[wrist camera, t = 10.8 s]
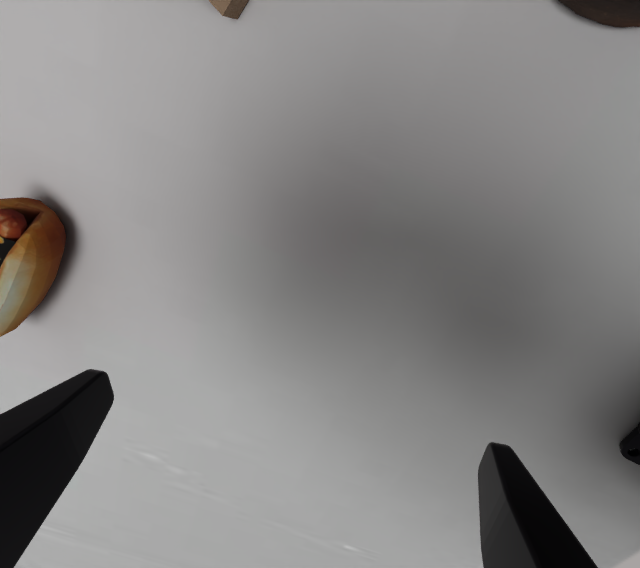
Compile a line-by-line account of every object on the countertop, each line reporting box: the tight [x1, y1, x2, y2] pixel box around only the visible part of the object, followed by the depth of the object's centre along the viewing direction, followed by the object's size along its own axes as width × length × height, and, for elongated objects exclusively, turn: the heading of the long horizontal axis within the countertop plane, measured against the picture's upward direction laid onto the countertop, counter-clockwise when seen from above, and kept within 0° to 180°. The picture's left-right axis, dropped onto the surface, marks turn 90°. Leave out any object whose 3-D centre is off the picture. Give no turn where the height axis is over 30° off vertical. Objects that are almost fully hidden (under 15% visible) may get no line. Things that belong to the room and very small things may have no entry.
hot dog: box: [0, 198, 66, 337], centre depth 29 cm, size 5×13×5 cm, turn 136°
